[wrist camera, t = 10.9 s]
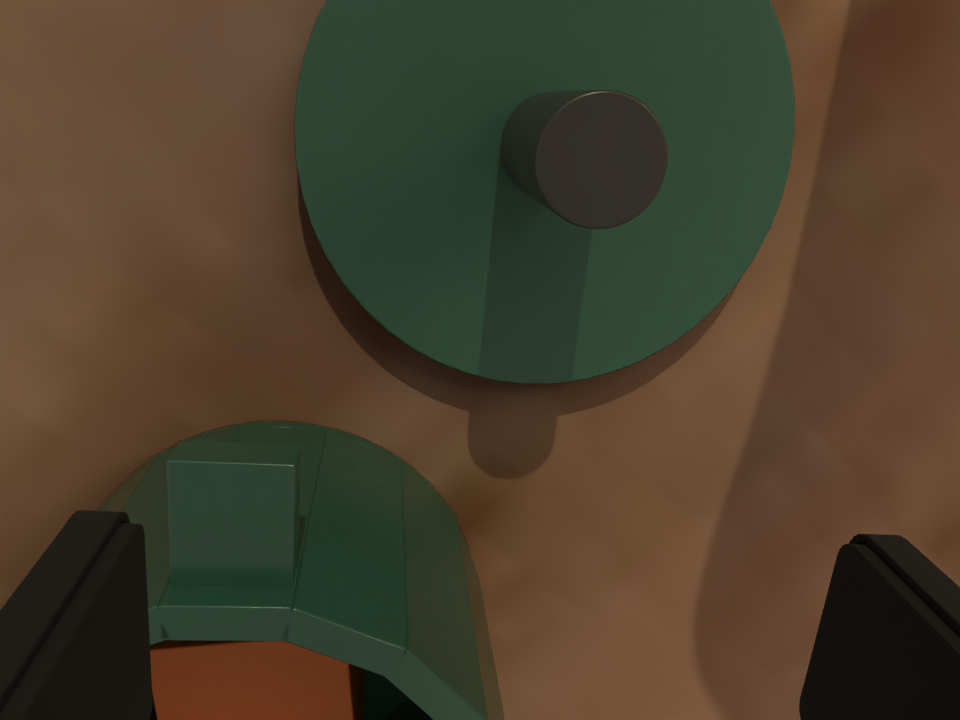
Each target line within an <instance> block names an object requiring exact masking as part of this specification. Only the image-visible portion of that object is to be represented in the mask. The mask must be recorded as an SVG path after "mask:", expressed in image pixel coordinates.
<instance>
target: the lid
mask: <svg viewBox="0 0 960 720" xmlns="http://www.w3.org/2000/svg"><path fill="white" fill-rule="evenodd" d="M794 106H795V100H794V90H793V81H792V72H791V65H790V61H789V57H788V52H787V48H786V44H785V40H784V36H783V32H782V30H781V27H780V24H779V22H778V19H777V16H776V14H775V11H774V8H773V6H772V3H771V1H770V0H326V2H325V4H324V6H323V8H322V10H321V12H320V14H319V15H318V17H317V20H316V23H315V26H314V28H313V31H312V34H311V37H310V40H309V42H308V45H307V48H306V51H305V54H304V59H303V64H302V68H301V73H300V77H299V82H298V87H297V97H296V108H295V120H294V130H295V152H296V163H297V169H298V174H299V180H300V186H301V192H302V195H303V199H304V202H305V205H306V208H307V212H308V215H309V218H310V221H311V224H312V227H313V229H314V231H315V234H316V236H317V238H318V240H319V242H320V244H321V247H322V249H323V251H324V253H325V255H326V257H327V259H328V260H329V262H330V264H331V265H332V267H333V268H334V270H335V272H336V273H337V275H338V276H339V278H340V280H341V281H342V283H343V284H344V285H345V287H346V288H347V289H348V290H349V291H350V293H351V294H352V295H353V296H354V298H355V299H356V300H357V301H358V302H359V304H360V305H361V306H362V307H363V309H365V310H366V311H367V312H368V313H369V314H370V315H371V316H372V317H373V318H374V319H375V320H376V321H377V322H378V323H379V324H381V325H382V326H383V327H384V328H385V329H386V330H387V331H388V332H390V333H391V334H393V335H394V336H395V337H397V338H398V339H400V340H401V341H402V342H404V343H405V344H406V345H408V346H409V347H411V348H412V349H414V350H416V351H418V352H420V353H421V354H423V355H425V356H427V357H429V358H431V359H433V360H434V361H436V362H438V363H441V364H443V365H446V366H448V367H451V368H454V369H456V370H459V371H461V372H464V373H467V374H471V375H475V376H479V377H483V378H487V379H491V380H495V381H504V382H513V383H522V384H554V383H562V382H569V381H577V380H584V379H588V378H592V377H595V376H599V375H603V374H607V373H610V372H614V371H616V370H619V369H621V368H624V367H626V366H629V365H631V364H634V363H636V362H639V361H641V360H643V359H645V358H647V357H649V356H650V355H652V354H654V353H656V352H658V351H660V350H661V349H663V348H665V347H667V346H669V345H670V344H671V343H673V342H674V341H676V340H677V339H678V338H680V337H681V336H683V335H684V334H685V333H687V332H688V331H690V330H691V329H692V328H694V327H695V326H696V325H697V324H698V323H699V322H700V321H701V320H702V319H704V318H705V317H706V316H707V315H708V314H709V313H710V312H711V311H712V310H714V309H715V308H716V307H717V306H718V304H719V303H720V302H721V301H722V300H723V299H724V298H725V296H726V295H727V294H728V293H729V292H730V291H731V289H732V288H733V287H734V286H735V285H736V284H737V282H738V281H739V279H740V278H741V277H742V275H743V274H744V272H745V271H746V269H747V268H748V266H749V265H750V263H751V262H752V261H753V259H754V258H755V256H756V254H757V252H758V250H759V248H760V246H761V244H762V243H763V241H764V239H765V237H766V235H767V233H768V231H769V229H770V227H771V224H772V222H773V219H774V216H775V214H776V211H777V209H778V206H779V204H780V201H781V198H782V194H783V191H784V187H785V183H786V179H787V175H788V171H789V167H790V160H791V153H792V146H793V138H794Z"/></svg>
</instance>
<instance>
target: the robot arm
mask: <svg viewBox="0 0 960 720" xmlns="http://www.w3.org/2000/svg"><path fill="white" fill-rule="evenodd" d="M151 710H152V677H151V656H150V635H149V614H148V593H147V572H146V551H145V534H144V528H143V526H142V524H132V523H130V520H129V517H128V514H127V513H126V512H117V511H83V510H80V511H76V512H75V513H74V514H73V515H72V516H71V518H70V519H69V520H68V522H67V523H66V524H65V526H64V527H63V528H62V530H61V531H60V532H59V534H58V535H57V536H56V538H55V539H54V540H53V542H52V543H51V544H50V546H49V547H48V548H47V549H46V551H45V552H44V553H43V555H42V556H41V557H40V559H39V560H38V561H37V563H36V564H35V565H34V567H33V568H32V569H31V571H30V572H29V573H28V575H27V576H26V577H25V579H24V580H23V581H22V583H21V584H20V585H19V587H18V588H17V589H16V590H15V592H14V593H13V594H12V596H11V597H10V598H9V600H8V601H7V602H6V604H5V605H4V606H3V608H2V609H1V610H0V720H150V716H151ZM799 710H800V717H801V720H960V587H959V586H958V585H957V584H955V583H954V582H953V581H952V580H951V579H950V578H949V577H948V576H947V575H945V574H944V573H943V572H942V571H941V570H940V569H939V568H938V567H937V566H935V565H934V564H933V563H932V562H931V561H930V560H929V559H928V558H927V557H925V556H924V555H923V554H922V553H921V552H920V551H919V550H918V549H917V548H915V547H914V546H913V545H912V544H911V543H910V542H909V541H908V540H907V539H905V538H903V537H902V536H899V535H877V534H858V535H856V536H854V537H853V538H852V540H851V541H850V543H849V544H845V545H843V546H842V547H841V548H840V550H839V552H838V555H837V559H836V563H835V566H834V570H833V574H832V578H831V582H830V586H829V590H828V593H827V597H826V601H825V605H824V609H823V613H822V617H821V620H820V624H819V628H818V632H817V636H816V640H815V643H814V647H813V651H812V655H811V659H810V663H809V667H808V670H807V674H806V678H805V682H804V686H803V690H802V694H801V697H800V704H799Z"/></svg>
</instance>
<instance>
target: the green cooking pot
mask: <svg viewBox="0 0 960 720" xmlns="http://www.w3.org/2000/svg"><path fill="white" fill-rule="evenodd" d="M95 511H117V512H126V513H127V514H128V517H129V520H130V523H132V524H142V526H143V528H144V534H145V551H146V572H147V593H148V614H149V635H150V645H153V644H156V643H159V642H162V641H165V640H177V641H285V642H288V643H291V644H294V645H297V646H300V647H302V648H305V649H308V650H311V651H314V652H317V653H319V654H322V655H325V656H328V657H331V658H333V659H336V660H339V661H342V662H345V663H348V664H350V665H353V666H356V667H359V668H362V669H364V670H365V682H364V705H363V720H505V719H504V713H503V708H502V702H501V697H500V691H499V686H498V680H497V675H496V670H495V664H494V659H493V653H492V648H491V642H490V637H489V631H488V626H487V621H486V615H485V610H484V604H483V599H482V593H481V588H480V582H479V578H478V575H477V572H476V569H475V567H474V564H473V561H472V558H471V555H470V551H469V548H468V544H467V541H466V538H465V536H464V534H463V532H462V529H461V527H460V525H459V523H458V521H457V518H456V517H455V515H454V513H453V512H452V511H451V509H450V508H449V506H448V505H447V503H446V502H445V500H444V499H443V498H442V496H441V495H440V494H439V493H438V492H437V491H436V490H435V488H434V487H433V486H432V485H431V484H430V483H429V481H427V480H426V479H425V478H424V477H423V476H422V475H421V474H419V473H418V472H417V471H416V470H415V469H414V468H413V467H412V466H410V465H409V464H408V463H406V462H405V461H403V460H402V459H400V458H399V457H397V456H396V455H394V454H393V453H391V452H390V451H388V450H386V449H384V448H382V447H380V446H378V445H376V444H374V443H372V442H370V441H368V440H366V439H364V438H361V437H358V436H355V435H352V434H350V433H347V432H344V431H341V430H337V429H333V428H328V427H324V426H319V425H315V424H307V423H298V422H288V421H273V422H252V423H245V424H238V425H231V426H226V427H223V428H219V429H215V430H211V431H208V432H204V433H201V434H199V435H196V436H194V437H191V438H189V439H186V440H184V441H183V440H181V441H179V442H178V443H177V444H175V445H173V446H171V447H170V448H168V449H166V450H164V451H163V452H161V453H158V454H157V455H155V456H154V457H153V458H151V459H150V460H149V461H147V462H146V463H145V464H143V465H142V466H141V467H139V468H138V469H137V470H135V471H134V472H133V473H132V474H131V475H130V476H129V477H128V478H127V479H126V480H125V481H124V482H123V483H122V484H121V485H120V486H119V487H118V488H117V489H116V490H115V491H114V492H113V493H112V494H111V495H110V496H109V497H107V498H106V499H105V500H104V501H103V502H102V503H101V504H100V505H99V506H98V507H97V509H96V510H95ZM150 720H157V716H156V711H155V705H154V700H153V694H152V710H151V716H150Z"/></svg>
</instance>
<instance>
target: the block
mask: <svg viewBox="0 0 960 720" xmlns="http://www.w3.org/2000/svg"><path fill="white" fill-rule="evenodd" d="M150 656H151V677H152V694H153V700H154V705H155V711H156V716H157V720H363V705H364V682H365V670H364V669H362V668H359V667H356V666H353V665H350V664H348V663H345V662H342V661H339V660H336V659H333V658H331V657H328V656H325V655H322V654H319V653H317V652H314V651H311V650H308V649H305V648H302V647H300V646H297V645H294V644H291V643H288V642H285V641H177V640H165V641H162V642H159V643H156V644H153V645H150Z"/></svg>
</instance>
